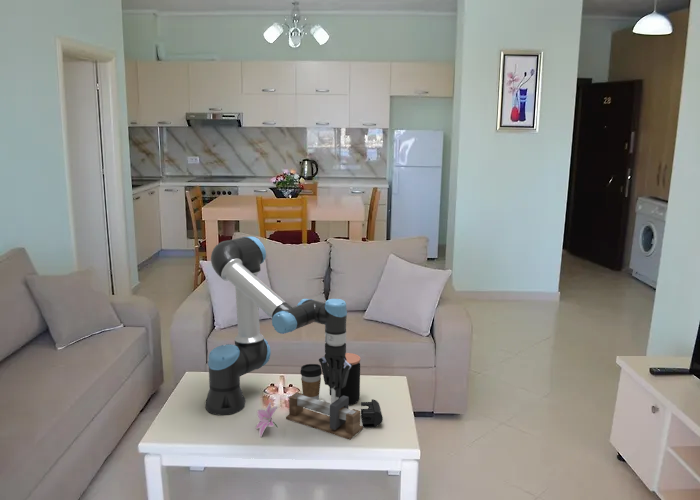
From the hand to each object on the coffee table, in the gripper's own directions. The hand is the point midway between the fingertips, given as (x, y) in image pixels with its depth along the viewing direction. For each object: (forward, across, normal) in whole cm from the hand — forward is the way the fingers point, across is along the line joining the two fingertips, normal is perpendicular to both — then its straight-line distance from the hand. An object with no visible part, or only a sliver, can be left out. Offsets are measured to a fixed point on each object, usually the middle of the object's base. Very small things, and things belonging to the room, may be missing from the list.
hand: (334, 404), depth 218 cm
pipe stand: (+9, -5, 0) cm, 10 cm away
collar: (+7, +2, 0) cm, 7 cm away
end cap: (+10, +9, +11) cm, 17 cm away
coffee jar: (+9, -8, +21) cm, 24 cm away
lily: (+10, -20, -15) cm, 26 cm away
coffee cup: (+9, -19, +12) cm, 24 cm away
